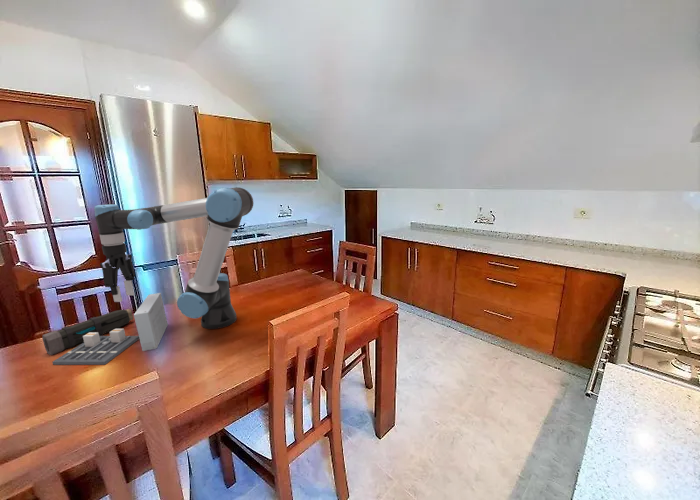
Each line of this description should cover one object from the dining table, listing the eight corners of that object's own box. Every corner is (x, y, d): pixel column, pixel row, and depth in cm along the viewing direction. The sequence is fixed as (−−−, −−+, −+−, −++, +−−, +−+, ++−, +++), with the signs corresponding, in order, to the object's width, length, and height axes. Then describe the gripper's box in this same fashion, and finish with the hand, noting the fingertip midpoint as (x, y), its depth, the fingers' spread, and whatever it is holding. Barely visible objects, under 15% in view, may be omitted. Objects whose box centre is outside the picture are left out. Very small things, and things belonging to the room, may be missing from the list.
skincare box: (154, 327, 134) (148, 294, 131) (168, 324, 136) (162, 292, 133) (140, 351, 115) (132, 314, 111) (156, 349, 117) (149, 311, 113)
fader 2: (126, 338, 122) (123, 328, 121) (120, 342, 119) (118, 332, 118) (117, 338, 122) (115, 328, 121) (111, 342, 119) (109, 332, 118)
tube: (138, 330, 138) (50, 356, 111) (130, 330, 141) (43, 356, 114) (133, 307, 137) (45, 328, 111) (126, 307, 141) (38, 328, 114)
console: (139, 338, 125) (138, 334, 124) (105, 364, 107) (103, 359, 107) (94, 338, 125) (93, 334, 125) (53, 364, 108) (51, 359, 107)
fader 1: (100, 342, 119) (98, 332, 118) (94, 346, 116) (91, 336, 115) (91, 342, 119) (89, 332, 118) (85, 346, 116) (82, 336, 115)
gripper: (122, 239, 128) (132, 289, 133) (83, 249, 109) (96, 307, 115) (139, 238, 128) (148, 289, 133) (103, 249, 109) (115, 307, 114)
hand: (124, 298), depth 124 cm, fingers open, 6 cm apart
